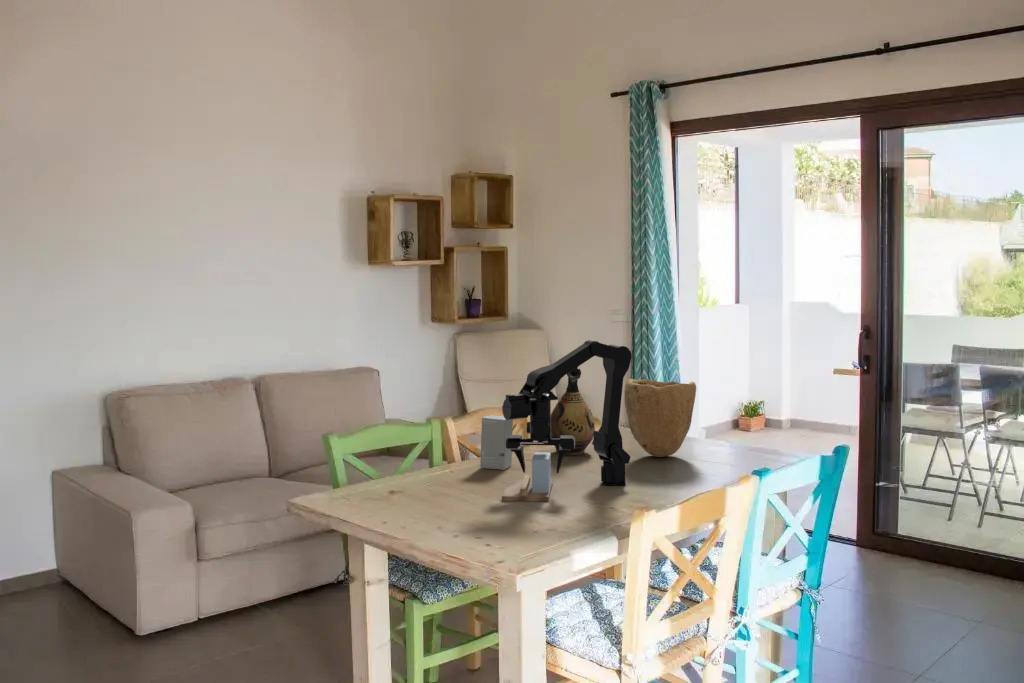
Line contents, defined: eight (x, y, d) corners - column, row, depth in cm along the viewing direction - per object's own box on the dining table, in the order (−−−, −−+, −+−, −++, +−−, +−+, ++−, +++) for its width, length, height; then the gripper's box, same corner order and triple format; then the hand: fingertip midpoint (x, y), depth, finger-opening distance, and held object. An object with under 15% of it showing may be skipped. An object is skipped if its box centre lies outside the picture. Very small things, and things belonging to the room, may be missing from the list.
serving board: (552, 484, 279) (552, 474, 279) (548, 501, 261) (548, 490, 261) (509, 484, 280) (508, 474, 280) (502, 500, 263) (501, 489, 262)
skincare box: (480, 468, 301) (479, 417, 300) (489, 463, 308) (488, 414, 306) (505, 470, 298) (504, 419, 296) (514, 465, 304) (513, 415, 303)
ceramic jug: (596, 457, 315) (596, 364, 312) (548, 457, 315) (547, 365, 312) (593, 446, 332) (592, 358, 329) (547, 447, 332) (546, 359, 329)
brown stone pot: (707, 454, 317) (707, 377, 314) (680, 467, 298) (680, 386, 296) (643, 447, 329) (643, 373, 326) (613, 460, 310) (613, 381, 308)
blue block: (551, 484, 275) (550, 452, 274) (548, 493, 265) (548, 460, 264) (535, 484, 275) (534, 452, 275) (532, 492, 266) (531, 460, 265)
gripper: (575, 412, 275) (576, 466, 277) (509, 411, 277) (510, 466, 279) (573, 418, 264) (574, 475, 266) (505, 418, 266) (506, 475, 268)
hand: (541, 472), depth 270 cm, fingers open, 9 cm apart
